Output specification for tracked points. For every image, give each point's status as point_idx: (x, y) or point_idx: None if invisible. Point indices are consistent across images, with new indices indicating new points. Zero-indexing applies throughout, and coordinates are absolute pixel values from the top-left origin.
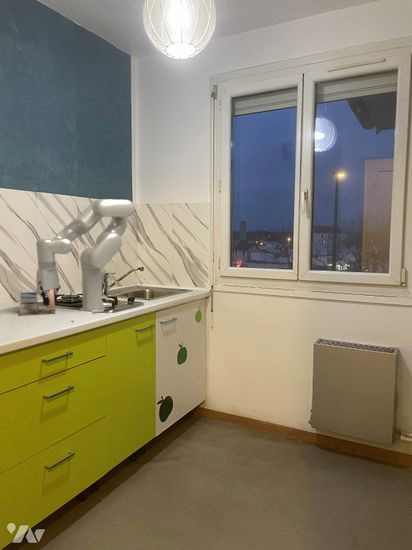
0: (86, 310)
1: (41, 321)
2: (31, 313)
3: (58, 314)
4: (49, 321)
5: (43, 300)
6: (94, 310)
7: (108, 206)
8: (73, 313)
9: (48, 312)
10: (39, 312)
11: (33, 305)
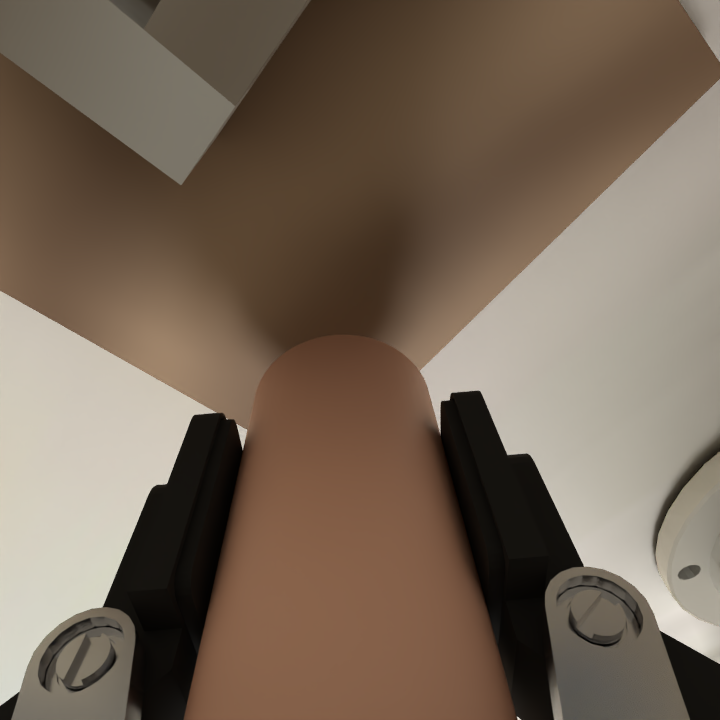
0: (696, 559)
1: (5, 540)
2: (43, 95)
3: (456, 360)
4: (83, 591)
5: (135, 552)
6: (718, 609)
7: None
8: (601, 454)
9: (343, 296)
10: (237, 146)
11: (57, 77)
